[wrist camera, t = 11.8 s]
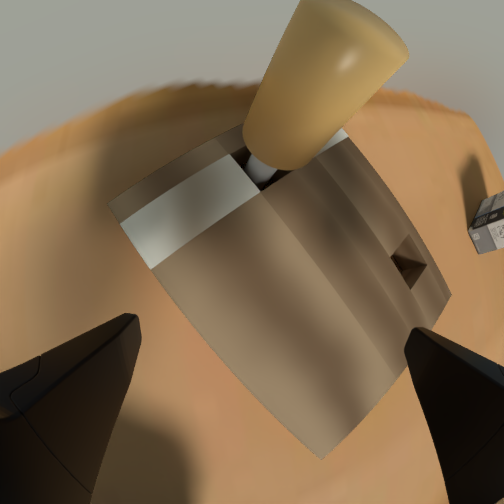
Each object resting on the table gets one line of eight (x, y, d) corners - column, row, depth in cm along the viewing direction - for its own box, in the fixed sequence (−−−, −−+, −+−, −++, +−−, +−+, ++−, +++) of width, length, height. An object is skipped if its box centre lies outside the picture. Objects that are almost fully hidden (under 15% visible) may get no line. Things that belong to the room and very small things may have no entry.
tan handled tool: (262, 220, 19) (405, 80, 6) (211, 189, 18) (283, 2, 5) (286, 177, 20) (411, 40, 7) (240, 149, 20) (323, -16, 6)
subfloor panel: (302, 443, 16) (321, 460, 13) (117, 220, 16) (106, 203, 14) (427, 297, 22) (452, 294, 19) (295, 116, 22) (309, 94, 19)
